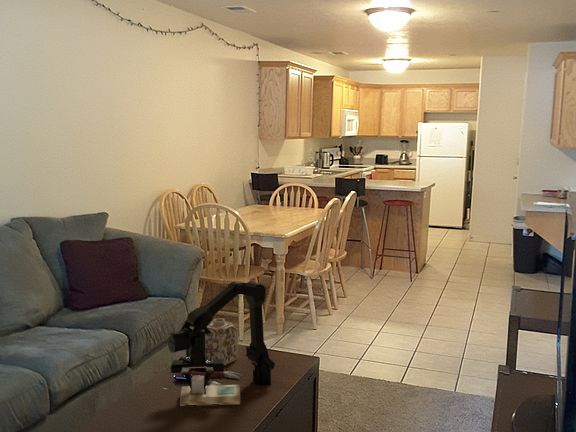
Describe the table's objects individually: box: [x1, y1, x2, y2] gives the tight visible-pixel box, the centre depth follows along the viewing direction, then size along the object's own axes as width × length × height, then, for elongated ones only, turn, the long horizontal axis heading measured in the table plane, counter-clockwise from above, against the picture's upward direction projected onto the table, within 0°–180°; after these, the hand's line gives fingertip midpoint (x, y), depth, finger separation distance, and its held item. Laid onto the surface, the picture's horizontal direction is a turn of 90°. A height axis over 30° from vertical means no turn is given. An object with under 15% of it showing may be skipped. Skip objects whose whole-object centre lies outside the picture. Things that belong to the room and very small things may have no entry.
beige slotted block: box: [179, 384, 241, 407], centre depth 221 cm, size 21×10×3 cm, turn 96°
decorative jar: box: [206, 317, 239, 367], centre depth 258 cm, size 12×12×18 cm
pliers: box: [191, 368, 244, 380], centre depth 244 cm, size 12×20×3 cm, turn 71°
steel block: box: [191, 376, 205, 395], centre depth 220 cm, size 4×4×8 cm
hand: (198, 388), depth 220 cm, fingers closed on steel block, 4 cm apart
